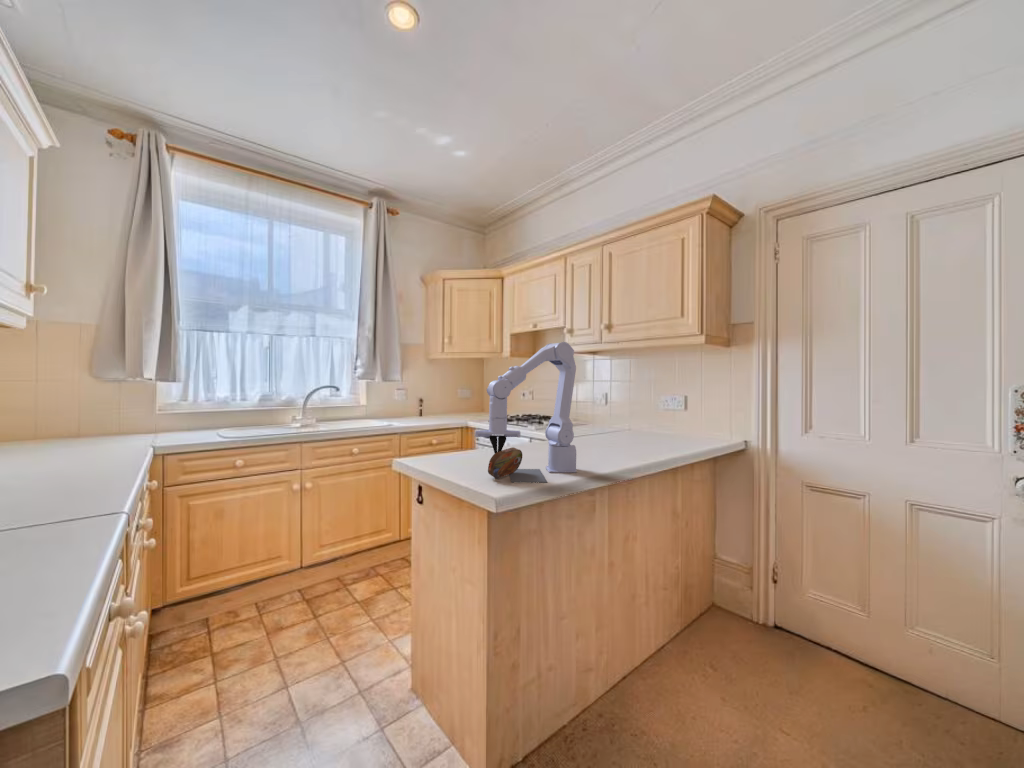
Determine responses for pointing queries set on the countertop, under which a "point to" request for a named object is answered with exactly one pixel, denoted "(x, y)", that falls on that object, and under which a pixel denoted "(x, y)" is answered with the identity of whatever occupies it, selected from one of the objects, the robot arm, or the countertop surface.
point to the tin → (504, 462)
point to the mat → (528, 476)
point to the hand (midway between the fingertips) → (497, 459)
